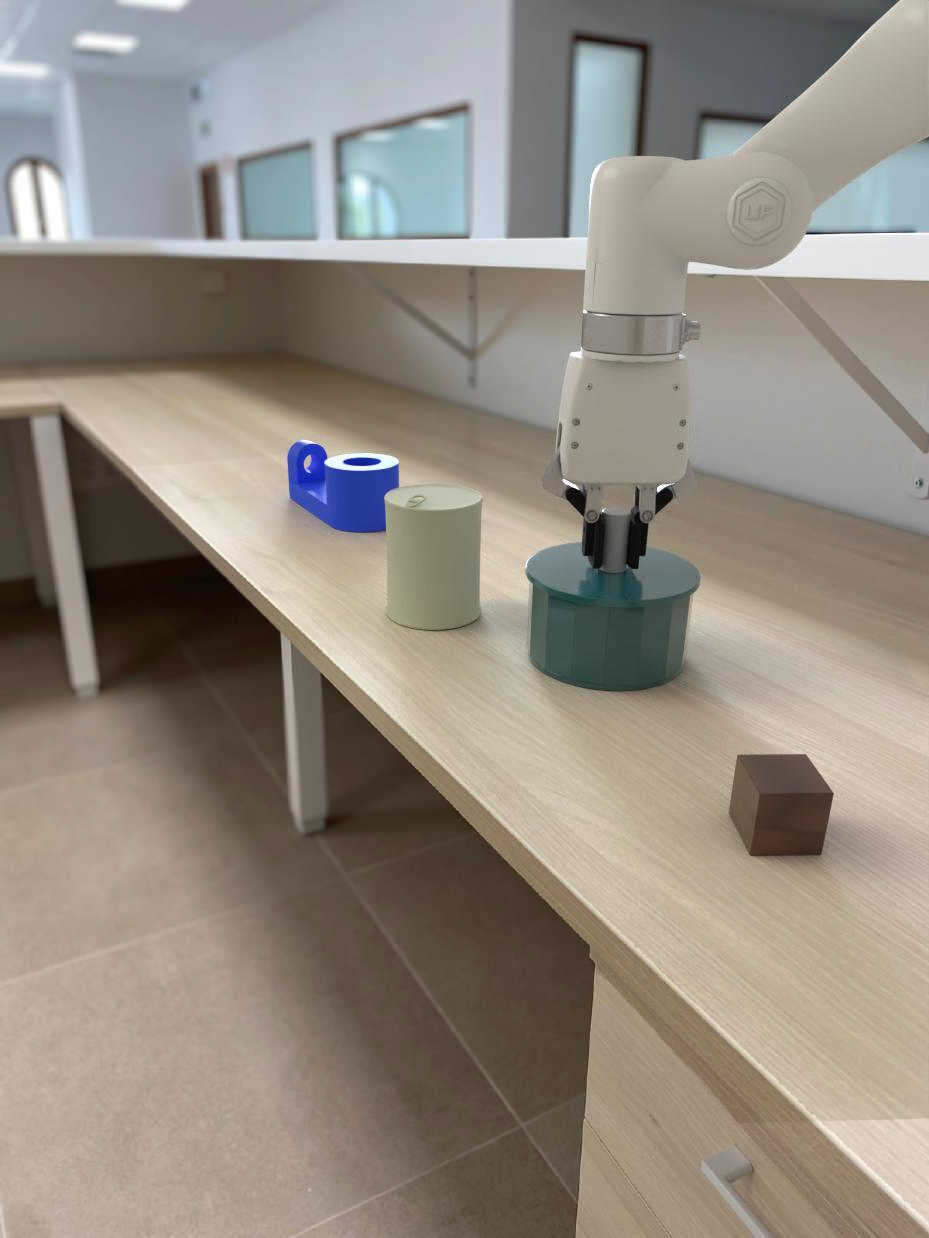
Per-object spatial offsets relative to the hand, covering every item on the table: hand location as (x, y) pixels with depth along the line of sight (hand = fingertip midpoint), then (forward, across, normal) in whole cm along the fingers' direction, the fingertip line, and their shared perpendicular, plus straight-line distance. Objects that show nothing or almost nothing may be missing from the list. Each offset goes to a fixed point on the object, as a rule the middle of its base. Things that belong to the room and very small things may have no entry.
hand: (612, 562), depth 78 cm
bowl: (+9, 0, 0) cm, 9 cm away
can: (+9, +15, -10) cm, 20 cm away
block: (+9, -6, +26) cm, 28 cm away
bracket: (+9, +27, -44) cm, 52 cm away
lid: (+1, 0, 0) cm, 1 cm away
